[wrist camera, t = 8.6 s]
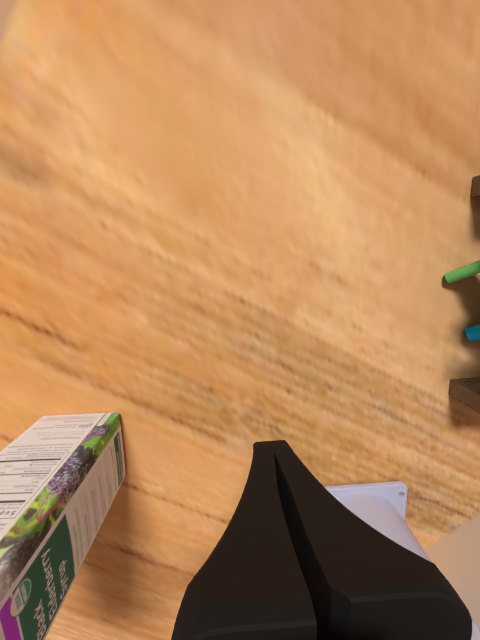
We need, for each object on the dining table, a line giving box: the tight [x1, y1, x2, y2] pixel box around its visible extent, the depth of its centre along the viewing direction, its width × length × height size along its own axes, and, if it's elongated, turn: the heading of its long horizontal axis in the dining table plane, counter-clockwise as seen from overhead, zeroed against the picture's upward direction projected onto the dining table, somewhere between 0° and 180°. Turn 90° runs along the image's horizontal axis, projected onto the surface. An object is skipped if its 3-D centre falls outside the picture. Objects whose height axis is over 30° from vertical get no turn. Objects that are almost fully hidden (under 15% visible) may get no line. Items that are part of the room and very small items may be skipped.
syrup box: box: [0, 412, 126, 640], centre depth 15 cm, size 6×6×14 cm
